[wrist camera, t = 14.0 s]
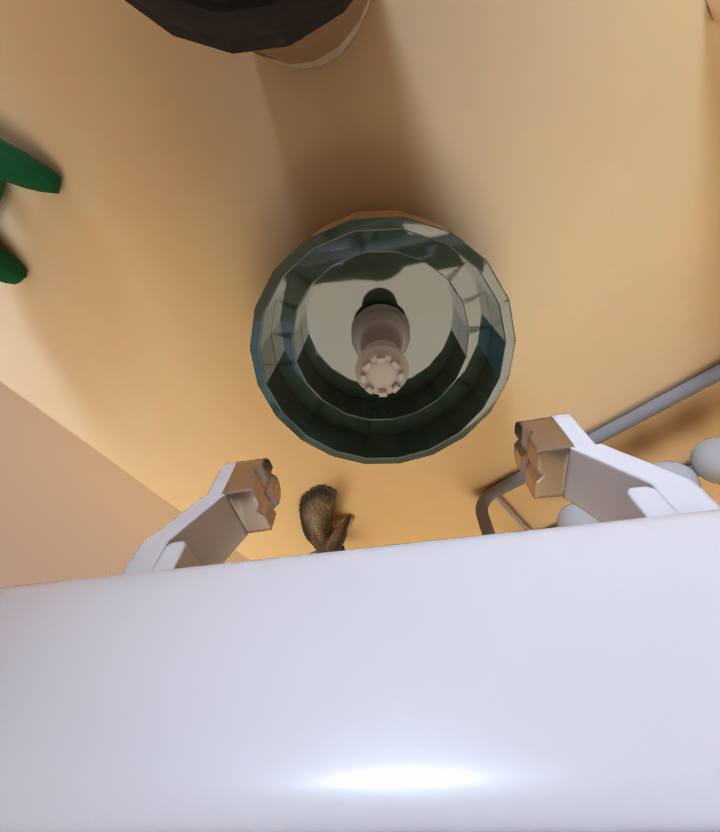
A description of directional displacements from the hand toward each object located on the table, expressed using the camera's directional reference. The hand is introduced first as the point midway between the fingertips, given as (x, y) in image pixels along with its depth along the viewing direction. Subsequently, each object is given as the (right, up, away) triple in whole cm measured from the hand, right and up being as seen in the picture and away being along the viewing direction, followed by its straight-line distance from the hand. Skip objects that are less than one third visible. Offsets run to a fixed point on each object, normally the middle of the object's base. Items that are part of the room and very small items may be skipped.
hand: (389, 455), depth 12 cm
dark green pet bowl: (+1, +8, +16) cm, 18 cm away
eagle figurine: (-4, -10, +28) cm, 30 cm away
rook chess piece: (+1, +8, +16) cm, 18 cm away
